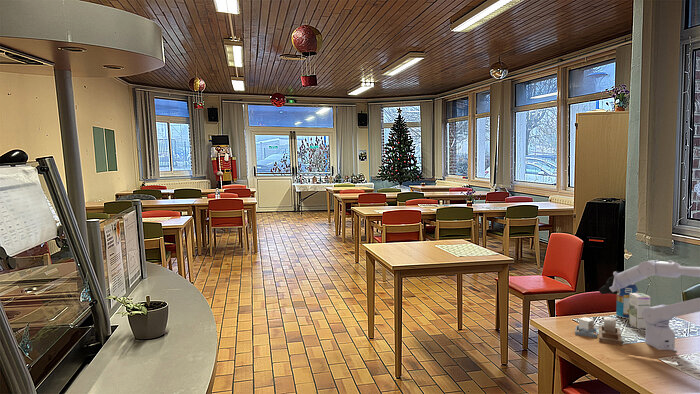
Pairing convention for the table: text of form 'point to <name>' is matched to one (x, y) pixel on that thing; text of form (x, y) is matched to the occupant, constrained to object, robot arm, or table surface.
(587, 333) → the tote
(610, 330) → the billet
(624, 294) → the beverage bottle
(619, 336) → the pallet
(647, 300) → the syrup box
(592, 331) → the loose billet
